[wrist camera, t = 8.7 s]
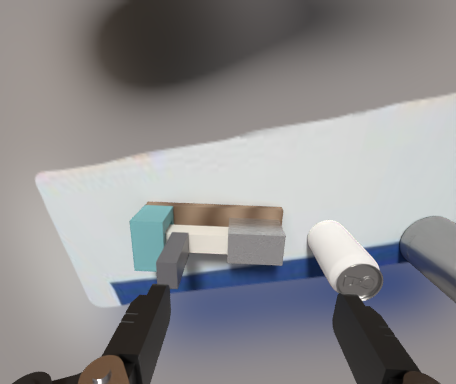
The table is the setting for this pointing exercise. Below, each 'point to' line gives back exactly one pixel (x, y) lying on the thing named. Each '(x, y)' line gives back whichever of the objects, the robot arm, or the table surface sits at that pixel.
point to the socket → (149, 235)
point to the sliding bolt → (187, 249)
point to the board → (218, 213)
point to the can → (344, 260)
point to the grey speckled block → (255, 241)
